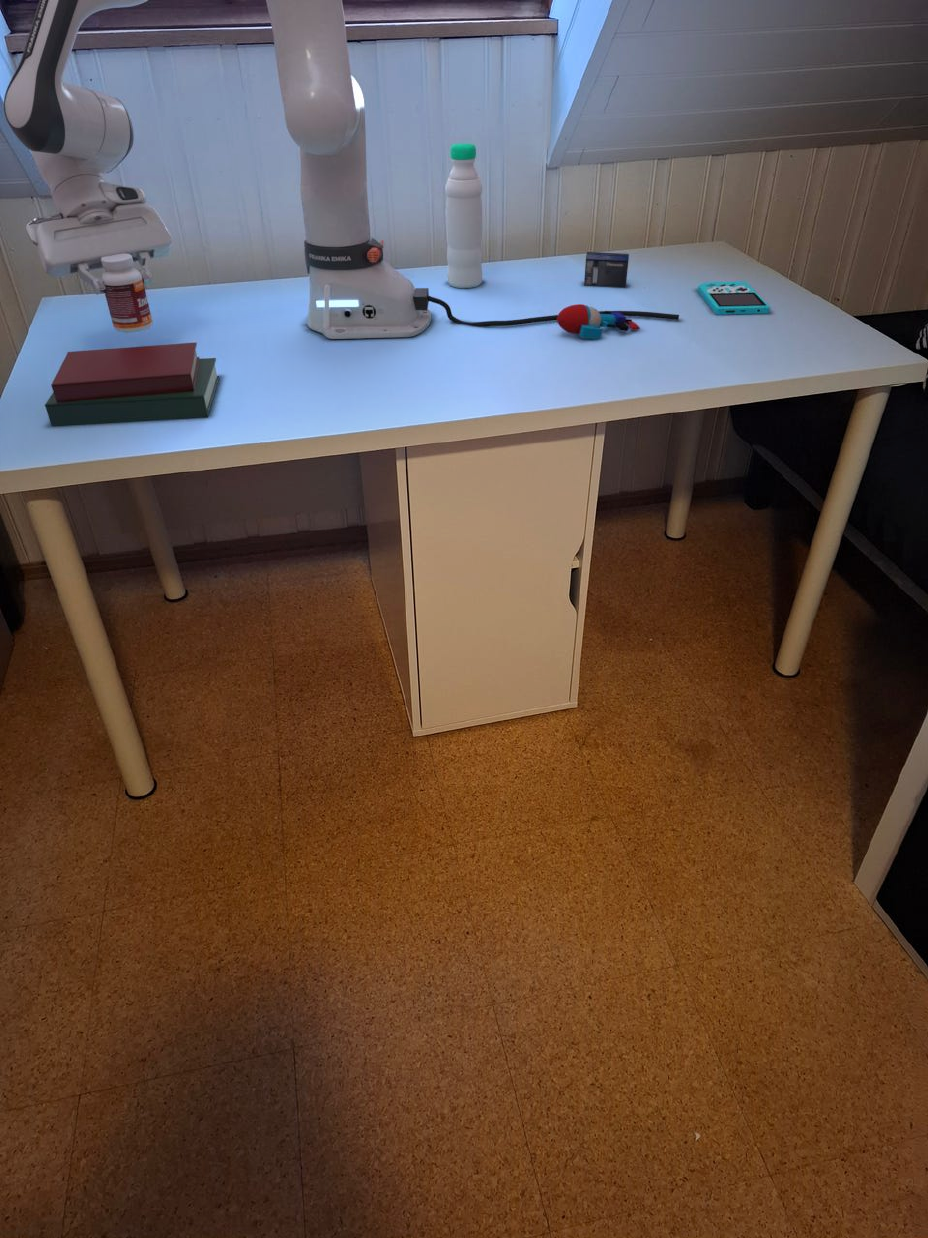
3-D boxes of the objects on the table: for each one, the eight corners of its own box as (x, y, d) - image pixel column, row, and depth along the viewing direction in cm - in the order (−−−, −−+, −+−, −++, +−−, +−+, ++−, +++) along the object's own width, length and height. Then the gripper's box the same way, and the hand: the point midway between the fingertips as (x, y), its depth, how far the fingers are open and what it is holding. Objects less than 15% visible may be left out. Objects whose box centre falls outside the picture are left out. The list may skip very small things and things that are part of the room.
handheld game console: (745, 286, 171) (747, 279, 170) (771, 313, 158) (772, 306, 157) (695, 288, 170) (696, 280, 170) (716, 314, 158) (717, 307, 157)
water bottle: (483, 278, 177) (483, 140, 162) (480, 289, 172) (480, 147, 157) (449, 278, 178) (446, 140, 163) (445, 288, 172) (441, 147, 157)
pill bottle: (152, 331, 140) (135, 260, 133) (112, 335, 139) (93, 264, 132) (154, 319, 145) (138, 250, 138) (116, 323, 144) (97, 253, 137)
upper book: (199, 358, 135) (196, 342, 134) (194, 391, 125) (190, 373, 123) (72, 368, 133) (67, 351, 131) (56, 402, 123) (51, 384, 121)
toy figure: (618, 327, 158) (546, 324, 152) (626, 300, 155) (552, 296, 149) (639, 344, 152) (564, 341, 147) (647, 316, 149) (572, 312, 144)
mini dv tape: (584, 285, 173) (586, 253, 169) (584, 283, 174) (587, 251, 170) (625, 287, 171) (628, 255, 168) (626, 285, 173) (629, 253, 169)
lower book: (219, 377, 137) (215, 357, 135) (207, 416, 126) (203, 395, 124) (77, 385, 136) (71, 365, 134) (51, 425, 124) (44, 404, 122)
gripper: (19, 207, 130) (58, 288, 130) (151, 187, 140) (188, 263, 139) (21, 232, 136) (58, 311, 136) (148, 212, 145) (183, 285, 145)
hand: (125, 286), depth 138 cm, fingers closed on pill bottle, 6 cm apart
